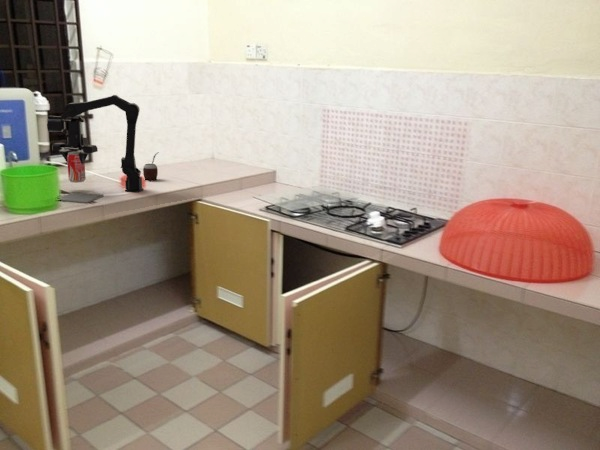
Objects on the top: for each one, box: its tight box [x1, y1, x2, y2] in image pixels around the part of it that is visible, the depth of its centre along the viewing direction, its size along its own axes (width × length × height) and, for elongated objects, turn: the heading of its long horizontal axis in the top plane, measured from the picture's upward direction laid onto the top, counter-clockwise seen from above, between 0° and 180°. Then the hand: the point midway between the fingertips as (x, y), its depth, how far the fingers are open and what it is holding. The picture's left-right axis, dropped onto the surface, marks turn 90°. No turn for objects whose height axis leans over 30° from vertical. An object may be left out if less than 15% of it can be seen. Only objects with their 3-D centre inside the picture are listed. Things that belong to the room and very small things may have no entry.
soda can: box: [66, 151, 87, 183], centre depth 246 cm, size 7×7×13 cm
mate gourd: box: [142, 152, 160, 182], centre depth 275 cm, size 8×8×15 cm
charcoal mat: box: [60, 191, 104, 204], centre depth 236 cm, size 14×14×1 cm
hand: (76, 166), depth 246 cm, fingers closed on soda can, 5 cm apart
